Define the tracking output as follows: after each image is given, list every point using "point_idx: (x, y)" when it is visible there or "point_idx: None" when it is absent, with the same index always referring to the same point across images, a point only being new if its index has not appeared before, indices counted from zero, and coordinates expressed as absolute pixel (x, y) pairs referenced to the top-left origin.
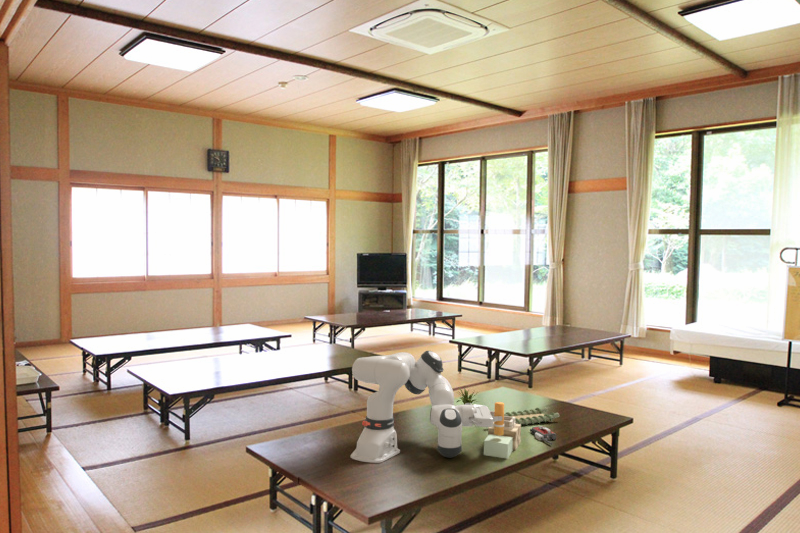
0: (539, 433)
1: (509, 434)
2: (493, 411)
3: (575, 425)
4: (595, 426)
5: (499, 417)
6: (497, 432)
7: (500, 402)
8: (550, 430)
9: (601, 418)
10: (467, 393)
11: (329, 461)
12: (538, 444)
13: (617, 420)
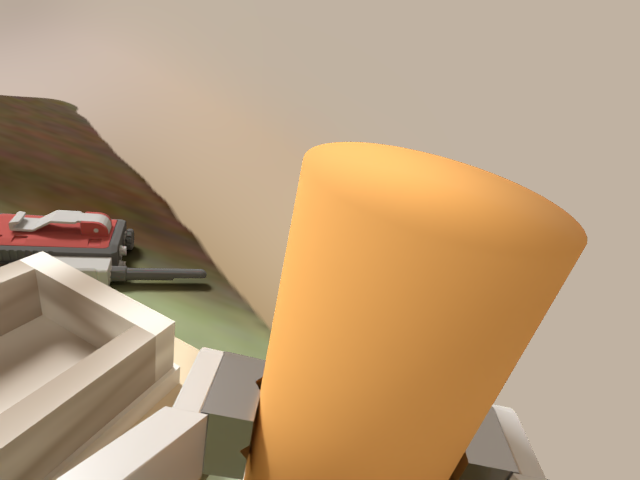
0: (63, 256)
1: None
2: (131, 451)
3: (21, 156)
4: (72, 140)
5: (525, 462)
6: None
7: (337, 151)
8: (106, 216)
9: (17, 112)
10: None
11: None
12: (162, 314)
13: (61, 109)
